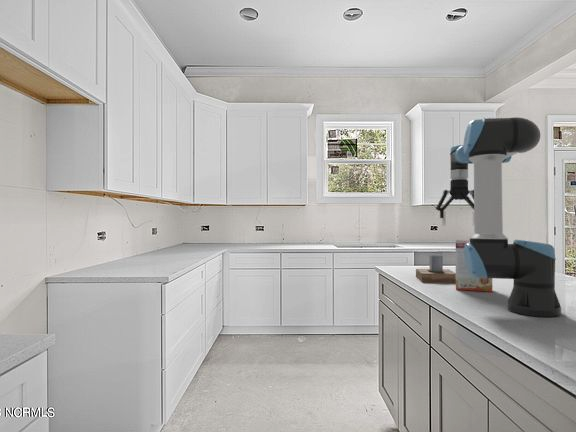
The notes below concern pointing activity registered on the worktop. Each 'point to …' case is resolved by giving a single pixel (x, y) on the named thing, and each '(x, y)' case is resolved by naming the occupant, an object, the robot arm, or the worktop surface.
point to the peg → (436, 263)
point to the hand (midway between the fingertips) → (459, 225)
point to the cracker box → (462, 275)
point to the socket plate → (436, 276)
